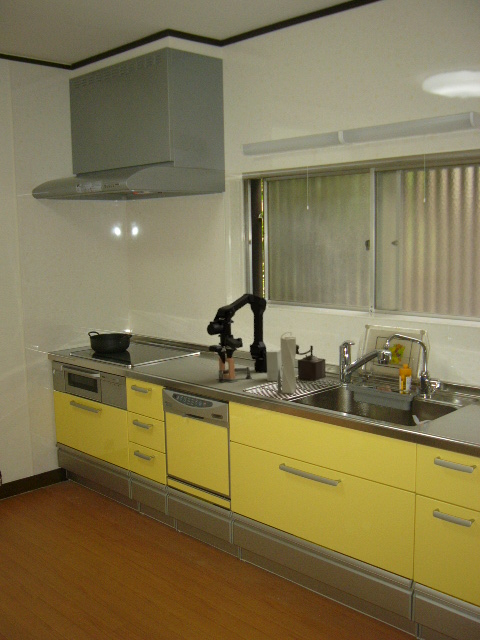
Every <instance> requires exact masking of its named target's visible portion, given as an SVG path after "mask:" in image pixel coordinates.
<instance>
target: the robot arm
mask: <svg viewBox="0 0 480 640" xmlns="http://www.w3.org/2000/svg"><path fill="white" fill-rule="evenodd" d="M247 304H248V305H250V306H249V307H250V310H251V312H252V313H253V342H252V343H251V344H249V353H250V356H251V359H252V360H253V361H254V363H253V364H254V366H253V368H254V370H253V371H255V373H267V355H266V352H268V351H267V346H266V344H265V342H264V313H265V311H266V310H267V299H266V298H265V297H260V296H258V295H255V294H252V293H249V292H247V293H246V292H245V293H243V295H241V297H238V298H237V299H236V300H234V301H233V302H231V303H230V304H228V305H224V306H221V307H219V308H218V309H217V312H216V314H215V316H214V317H213V321H209V324H207V327H206V332H207V334H208V335H209V336H215V335H217V337H218V338H219V342H218V344H212V345H209V347H208V352H211V353H217V355H218V356H219V358H221V360H222V362H223V364H225V365H226V361H225V357H226V358H232V359H233V354H234V352H236V351H237V350H238V349H240V348H243V346H244V345H243V338H241V337H236V338H235V337H234V334H232V324H234V323H235V321H234V320H233V319H232V318H233V317H234V316H235V315H236V312H238V311H239V310H240V309H242V308H243V307H245V306H246V305H247Z"/></svg>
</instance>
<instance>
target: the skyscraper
mask: <svg viewBox="0 0 480 640" xmlns="http://www.w3.org/2000/svg"><path fill="white" fill-rule="evenodd" d="M286 334H290V335H286ZM292 334H293V333H292V331H287V332H284V333H283V334H281V335H280V350H281V360H282V378H281V376H280V370H278V381H277V394H281V395H293V394H294V393H295V392H296V391H297V381H296V371H295V362H296V356H297V354H296V344H297V341H296V340H297V339H296V336H292ZM284 335H285V336H284ZM283 336H284V337H283Z"/></svg>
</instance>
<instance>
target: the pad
mask: <svg viewBox="0 0 480 640" xmlns="http://www.w3.org/2000/svg"><path fill="white" fill-rule="evenodd" d="M215 380H216V381H218V380H219V378H217V379H215ZM223 380H224V382H225V383H229V384H230V383H236V382H238V381H239V380H237V379H226V378H223Z"/></svg>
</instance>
